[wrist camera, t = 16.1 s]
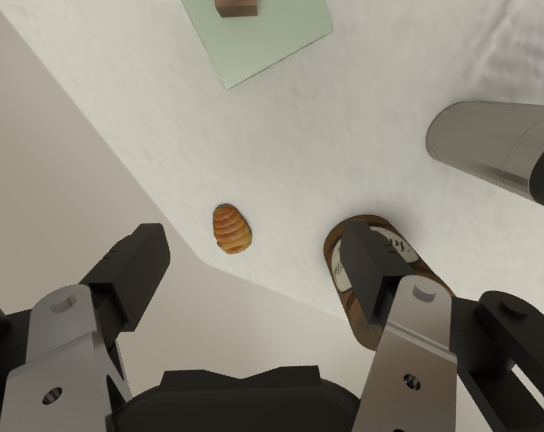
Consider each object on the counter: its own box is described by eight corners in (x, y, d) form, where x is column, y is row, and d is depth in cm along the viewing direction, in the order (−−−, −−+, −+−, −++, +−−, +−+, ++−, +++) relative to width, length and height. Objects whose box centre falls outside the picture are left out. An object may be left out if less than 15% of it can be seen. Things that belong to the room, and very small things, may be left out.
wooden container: (380, 200, 44) (472, 290, 24) (405, 253, 50) (494, 358, 31) (310, 237, 47) (342, 342, 28) (341, 282, 53) (385, 393, 34)
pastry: (205, 208, 44) (200, 218, 40) (240, 198, 43) (238, 208, 40) (223, 247, 48) (220, 259, 45) (255, 239, 47) (254, 251, 44)
